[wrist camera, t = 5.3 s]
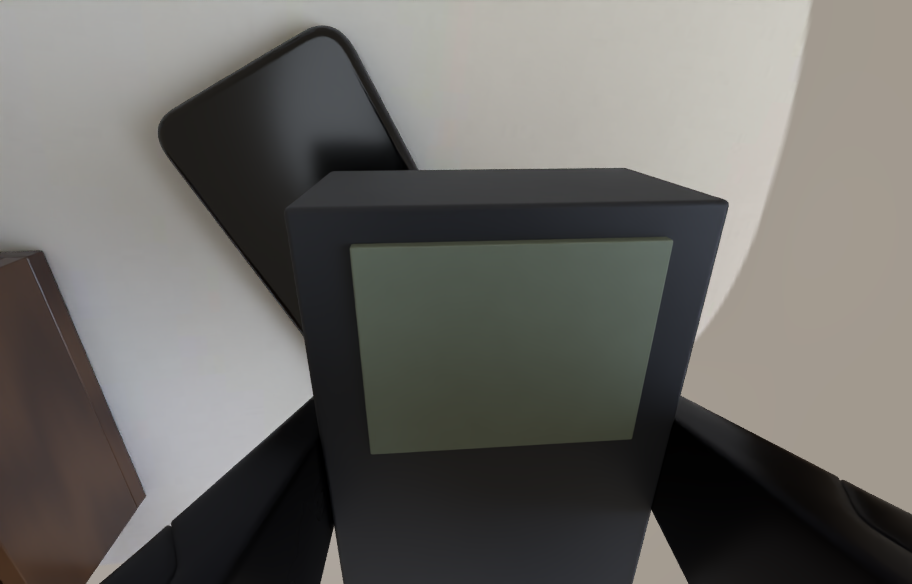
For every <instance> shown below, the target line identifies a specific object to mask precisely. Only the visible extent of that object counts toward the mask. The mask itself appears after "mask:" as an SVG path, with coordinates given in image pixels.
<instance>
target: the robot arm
mask: <svg viewBox="0 0 912 584" xmlns="http://www.w3.org/2000/svg"><path fill="white" fill-rule="evenodd" d="M651 510H652V512H653V514H654V516H655V518H656V520H657V522H658V524H659V526H660V528H661V530H662V532H663V534H664V536H665V537H666V540H667V542H668V544H669V546H670V547H671V549H672V551H673V554H674V556H675V558H676V559H677V561H678V564H679V566H680V568H681V569H682V571H683V574H684V575H685V577H686V579H687V582H688V584H912V514H910V513H908V512H906V511H904V510H902V509H900V508H898V507H896V506H894V505H892V504H890V503H888V502H886V501H884V500H882V499H880V498H878V497H876V496H874V495H872V494H870V493H868V492H866V491H864V490H862V489H860V488H859V487H856V486H855V485H853V484H851V483H849V482H847V481H845V480H841V481H840V480H839V478H838V477H837V476H835V475H833V474H831V473H829V472H827V471H825V470H823V469H821V468H819V467H818V466H816V465H814V464H812V463H810V462H808V461H806V460H804V459H802V458H800V457H798V456H796V455H794V454H793V453H791V452H789V451H787V450H785V449H783V448H781V447H779V446H777V445H775V444H773V443H771V442H769V441H767V440H765V439H763V438H761V437H760V436H758V435H756V434H754V433H752V432H750V431H748V430H746V429H744V428H742V427H740V426H738V425H736V424H734V423H732V422H730V421H729V420H727V419H725V418H723V417H721V416H719V415H717V414H715V413H713V412H711V411H709V410H707V409H705V408H703V407H702V406H700V405H698V404H696V403H694V402H692V401H690V400H688V399H686V398H684V397H682V396H680V399H679V403H678V407H677V411H676V415H675V419H674V422H673V424H672V428H671V432H670V436H669V440H668V444H667V448H666V452H665V455H664V459H663V463H662V467H661V471H660V475H659V479H658V483H657V487H656V491H655V495H654V499H653V503H652V506H651ZM333 528H334V521H333V515H332V508H331V502H330V496H329V490H328V483H327V477H326V471H325V465H324V458H323V452H322V446H321V440H320V434H319V427H318V421H317V415H316V409H315V402H314V396H313V397H312V398H311V399H310V400H309V401H308V402H306V403H305V404H304V405H303V406H302V407H301V408H300V409H298V410H297V411H296V412H295V413H294V414H293V415H292V416H291V417H289V418H288V419H287V420H286V421H285V422H284V423H283V424H282V425H280V426H279V427H278V428H277V429H276V430H275V431H274V432H272V433H271V434H270V435H269V436H268V437H267V438H266V439H265V440H263V441H262V442H261V443H260V444H259V445H258V446H257V447H255V448H254V449H253V450H252V451H251V452H250V453H249V454H248V455H246V456H245V457H244V458H243V459H242V460H241V461H240V462H239V463H237V464H236V465H235V466H234V467H233V468H232V469H231V470H229V471H228V472H227V473H226V474H225V475H224V476H223V477H222V478H220V479H219V480H218V481H217V482H216V483H215V484H214V485H212V486H211V487H210V488H209V489H208V490H207V491H206V492H205V493H203V494H202V495H201V496H200V497H199V498H198V499H197V500H196V501H194V502H193V503H192V504H191V505H190V506H189V507H188V508H186V509H185V510H184V511H183V512H182V513H181V514H180V515H179V516H177V517H176V518H175V519H174V520H173V521H172V522H171V526H166V527H165V528H164V529H162V530H161V531H160V532H159V533H158V534H157V535H156V536H155V537H153V538H152V539H151V540H150V541H149V542H148V543H147V544H145V545H144V546H143V547H142V548H141V549H140V550H138V551H137V552H136V553H135V554H134V555H133V556H131V557H130V558H129V559H128V560H127V561H126V562H124V563H123V564H122V565H121V566H120V567H119V568H117V569H116V570H115V571H114V572H113V573H112V574H110V575H109V576H108V577H107V578H106V579H104V580H103V581H102V582H101V583H99V584H320V582H321V578H322V574H323V570H324V565H325V561H326V557H327V553H328V549H329V545H330V540H331V536H332V532H333Z"/></svg>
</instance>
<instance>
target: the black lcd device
mask: <svg viewBox="0 0 912 584" xmlns="http://www.w3.org/2000/svg"><path fill="white" fill-rule="evenodd" d="M728 207H729V205H728V202H727V201H726V200H724V199H721V198H717V197H714V196H711V195H708V194H705V193H702V192H699V191H696V190H692V189H689V188H686V187H683V186H680V185H677V184H674V183H670V182H667V181H664V180H661V179H658V178H655V177H652V176H648V175H645V174H642V173H639V172H636V171H633V170H630V169H627V168H581V169H488V170H396V171H332V172H330V173H329V174H328V175H326V176H325V177H324V178H323V179H321V180H320V181H319V182H318V183H316V184H315V185H314V186H313V187H311V188H310V189H309V190H308V191H307V192H305V193H304V194H303V195H302V196H300V197H299V198H298V199H297V200H295V201H294V202H293V203H292V204H290V205H289V206H288V207H287V208H285V211H284V216H285V222H286V228H287V234H288V241H289V247H290V253H291V259H292V266H293V272H294V278H295V284H296V290H297V297H298V303H299V309H300V315H301V322H302V328H303V334H304V340H305V346H306V353H307V359H308V365H309V371H310V378H311V384H312V390H313V396H314V402H315V409H316V415H317V421H318V427H319V434H320V440H321V446H322V452H323V458H324V465H325V471H326V477H327V483H328V490H329V496H330V502H331V508H332V515H333V521H334V527H335V533H336V539H337V545H338V552H339V558H340V564H341V570H342V577H343V583H344V584H632V583H633V579H634V575H635V572H636V568H637V564H638V560H639V556H640V552H641V548H642V544H643V540H644V536H645V532H646V528H647V524H648V521H649V517H650V513H651V506H652V503H653V499H654V495H655V491H656V487H657V483H658V479H659V475H660V471H661V467H662V463H663V459H664V455H665V452H666V448H667V444H668V440H669V436H670V432H671V428H672V424H673V422H674V419H675V415H676V411H677V407H678V403H679V399H680V395H681V391H682V387H683V383H684V379H685V375H686V372H687V368H688V363H689V360H690V356H691V352H692V348H693V344H694V340H695V336H696V332H697V328H698V324H699V321H700V317H701V313H702V309H703V305H704V301H705V297H706V293H707V289H708V285H709V281H710V277H711V274H712V270H713V266H714V262H715V258H716V254H717V250H718V246H719V242H720V238H721V234H722V230H723V226H724V223H725V219H726V215H727V211H728Z"/></svg>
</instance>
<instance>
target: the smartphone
mask: <svg viewBox="0 0 912 584" xmlns="http://www.w3.org/2000/svg"><path fill="white" fill-rule="evenodd" d="M158 138H159V142H160V145H161V147H162V149H163V151H164V152H165V154H166V155H167V157H168V158H169V160H170V161H171V162H172V164H173V165H174V166H175V168H176V169H177V170H178V172H179V173H180V174H181V176H182V177H183V178H184V180H185V181H186V182H187V184H188V185H189V186H190V187H191V189H192V190H193V191H194V193H195V194H196V195H197V197H198V198H199V199H200V201H201V202H202V203H203V205H204V206H205V207H206V209H207V210H208V211H209V212H210V214H211V215H212V216H213V218H214V219H215V220H216V222H217V223H218V224H219V226H220V227H221V228H222V230H223V231H224V232H225V234H226V235H227V236H228V238H229V239H230V240H231V241H232V243H233V244H234V245H235V247H236V248H237V249H238V251H239V252H240V253H241V255H242V256H243V257H244V259H245V260H246V261H247V263H248V264H249V265H250V267H251V268H252V269H253V270H254V272H255V273H256V274H257V276H258V277H259V278H260V280H261V281H262V282H263V284H264V285H265V286H266V288H267V289H268V290H269V292H270V293H271V294H272V295H273V297H274V298H275V299H276V301H277V302H278V303H279V305H280V306H281V307H282V309H283V310H284V311H285V313H286V314H287V315H288V317H289V318H290V319H291V321H292V322H293V323H294V324H295V326H296V327H297V328H298V330H299V331H300V332H301V334H302V335H303V336H304V334H303V328H302V322H301V315H300V309H299V303H298V297H297V290H296V284H295V278H294V272H293V266H292V259H291V253H290V247H289V241H288V234H287V228H286V222H285V216H284V211H285V208H287V207H288V206H289V205H290V204H292V203H293V202H294V201H295V200H297V199H298V198H299V197H300V196H302V195H303V194H304V193H305V192H307V191H308V190H309V189H310V188H311V187H313V186H314V185H315V184H316V183H318V182H319V181H320V180H321V179H323V178H324V177H325V176H326V175H328V174H329V173H330V172H332V171H396V170H418V168H417V166H416V165H415V163H414V161H413V159H412V157H411V155H410V153H409V151H408V149H407V147H406V146H405V144H404V142H403V140H402V138H401V136H400V134H399V132H398V130H397V128H396V126H395V125H394V123H393V121H392V119H391V117H390V115H389V113H388V111H387V109H386V107H385V105H384V104H383V102H382V100H381V98H380V96H379V94H378V92H377V90H376V88H375V86H374V84H373V83H372V81H371V79H370V77H369V75H368V73H367V71H366V69H365V67H364V65H363V63H362V62H361V60H360V58H359V56H358V54H357V52H356V50H355V49H354V47H353V45H352V44H351V43H350V41H349V40H348V39H347V38H346V36H345V35H344V34H342V33H341V32H340V31H338V30H337V29H335V28H333V27H330V26H315V27H311V28H309V29H307V30H305V31H303V32H301V33H300V34H298V35H296V36H294V37H293V38H291V39H289V40H288V41H286V42H284V43H282V44H281V45H279V46H277V47H276V48H274V49H272V50H271V51H269V52H267V53H265V54H264V55H262V56H260V57H259V58H257V59H255V60H254V61H252V62H250V63H249V64H247V65H246V66H244V67H242V68H241V69H239V70H237V71H236V72H234V73H232V74H231V75H229V76H227V77H225V78H223V79H222V80H220V81H218V82H217V83H215V84H213V85H212V86H210V87H208V88H207V89H205V90H203V91H202V92H200V93H198V94H197V95H195V96H193V97H192V98H190V99H188V100H187V101H185V102H183V103H182V104H180V105H179V106H177V107H175V108H174V109H172V110H171V111H169V112H168V113H167V114H166V115H165V116H164V117H163V118H162V120H161V121H160V123H159V126H158Z"/></svg>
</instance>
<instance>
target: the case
mask: <svg viewBox="0 0 912 584" xmlns="http://www.w3.org/2000/svg"><path fill="white" fill-rule="evenodd" d="M145 496H146V495H145V493H144V490H143V488H142V485H141V483H140V481H139V478H138V476H137V474H136V471H135V469H134V467H133V464H132V462H131V459H130V457H129V455H128V452H127V450H126V448H125V445H124V443H123V441H122V438H121V436H120V433H119V431H118V429H117V426H116V424H115V422H114V419H113V417H112V415H111V412H110V410H109V407H108V405H107V403H106V400H105V398H104V396H103V393H102V391H101V389H100V386H99V384H98V381H97V379H96V377H95V374H94V372H93V370H92V367H91V365H90V363H89V360H88V358H87V355H86V353H85V351H84V348H83V346H82V344H81V341H80V339H79V336H78V334H77V332H76V329H75V327H74V325H73V322H72V320H71V318H70V315H69V313H68V310H67V308H66V306H65V303H64V301H63V299H62V296H61V294H60V292H59V289H58V287H57V284H56V282H55V280H54V277H53V275H52V273H51V270H50V268H49V266H48V263H47V261H46V258H45V256H44V254H43V252H42V251H23V252H0V584H86V582H87V581H88V580H89V578H90V576H91V575H92V574H93V572H94V571H95V569H96V568H97V567H98V565H99V564H100V562H101V561H102V559H103V558H104V556H105V555H106V554H107V552H108V551H109V549H110V548H111V546H112V545H113V543H114V542H115V540H116V539H117V538H118V536H119V535H120V533H121V532H122V530H123V529H124V527H125V526H126V525H127V523H128V522H129V520H130V519H131V517H132V516H133V514H134V513H135V511H136V510H137V508H138V507H139V505H140V504H141V502H142V501H143V500H144V498H145Z"/></svg>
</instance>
